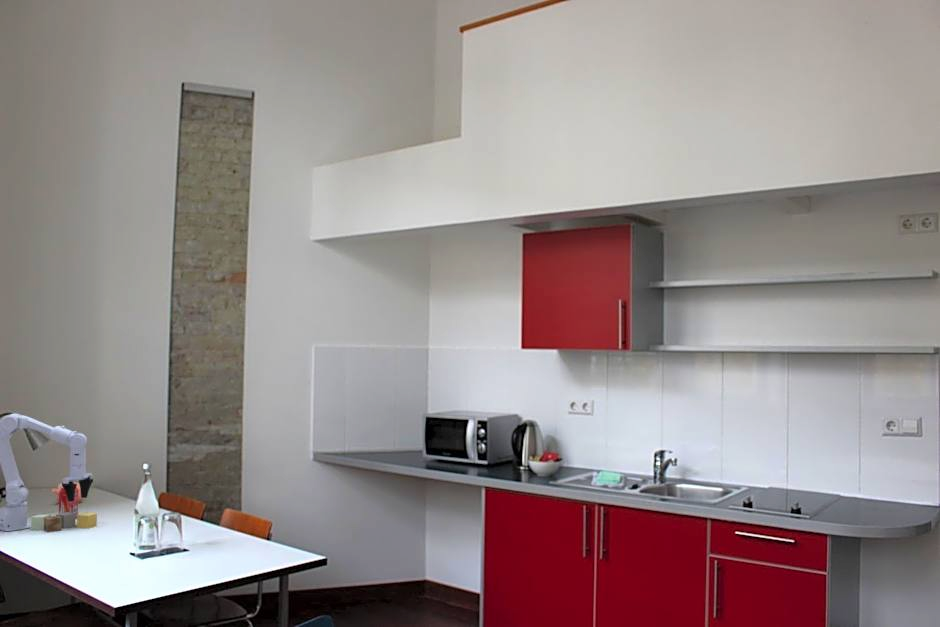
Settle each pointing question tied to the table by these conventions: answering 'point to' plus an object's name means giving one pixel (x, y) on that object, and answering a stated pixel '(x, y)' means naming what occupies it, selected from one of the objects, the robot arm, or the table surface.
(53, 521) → the walnut block
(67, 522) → the slate block
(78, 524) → the ochre block
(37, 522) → the pale green block
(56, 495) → the teapot
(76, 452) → the robot arm
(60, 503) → the soda can
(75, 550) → the table surface
